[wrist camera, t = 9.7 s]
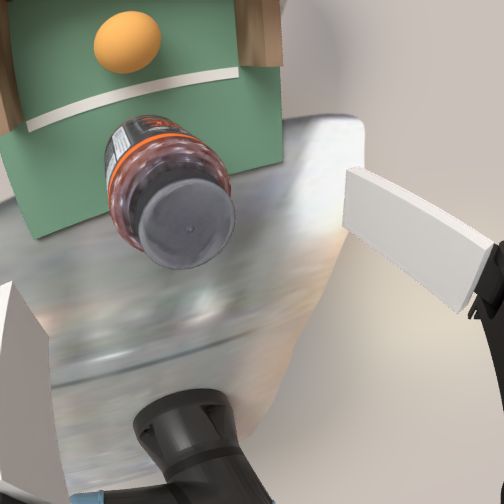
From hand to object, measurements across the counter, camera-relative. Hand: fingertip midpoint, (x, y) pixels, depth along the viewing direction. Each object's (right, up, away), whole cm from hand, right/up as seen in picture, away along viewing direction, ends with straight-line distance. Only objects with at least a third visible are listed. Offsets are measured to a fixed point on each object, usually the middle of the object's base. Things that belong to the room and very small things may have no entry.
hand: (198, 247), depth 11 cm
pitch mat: (-6, +13, +5) cm, 15 cm away
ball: (-5, +12, +1) cm, 13 cm away
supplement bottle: (-6, +7, +10) cm, 13 cm away
